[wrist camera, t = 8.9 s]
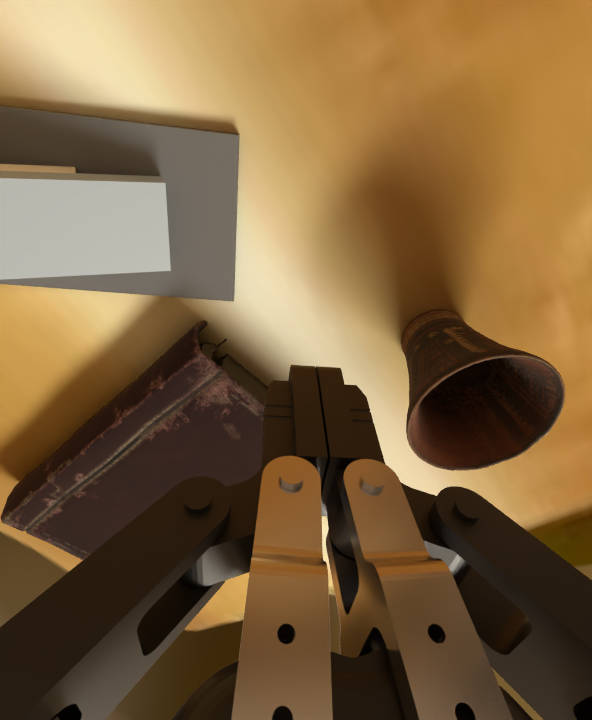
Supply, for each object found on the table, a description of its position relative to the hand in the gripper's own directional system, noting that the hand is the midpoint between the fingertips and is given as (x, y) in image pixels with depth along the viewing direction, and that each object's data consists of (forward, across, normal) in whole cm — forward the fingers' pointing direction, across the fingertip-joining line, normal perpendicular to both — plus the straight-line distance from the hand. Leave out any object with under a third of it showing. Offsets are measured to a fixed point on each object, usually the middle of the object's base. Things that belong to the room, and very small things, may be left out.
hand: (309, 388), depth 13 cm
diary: (+16, +7, +22) cm, 29 cm away
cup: (+16, -12, +7) cm, 21 cm away
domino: (+15, +7, 0) cm, 16 cm away
